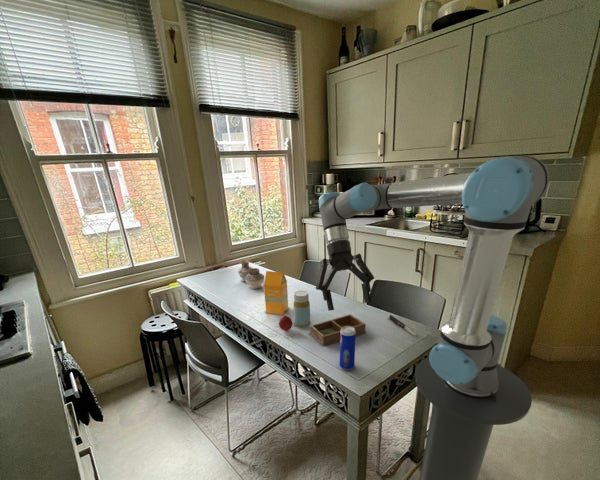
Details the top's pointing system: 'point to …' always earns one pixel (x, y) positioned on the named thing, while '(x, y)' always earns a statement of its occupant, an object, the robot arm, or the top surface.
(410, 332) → the kitchen knife
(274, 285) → the orange juice
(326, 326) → the wooden divided tray
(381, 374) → the top surface
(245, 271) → the pottery
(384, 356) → the top surface
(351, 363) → the beverage can
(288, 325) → the onion
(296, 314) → the bottle
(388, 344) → the top surface
